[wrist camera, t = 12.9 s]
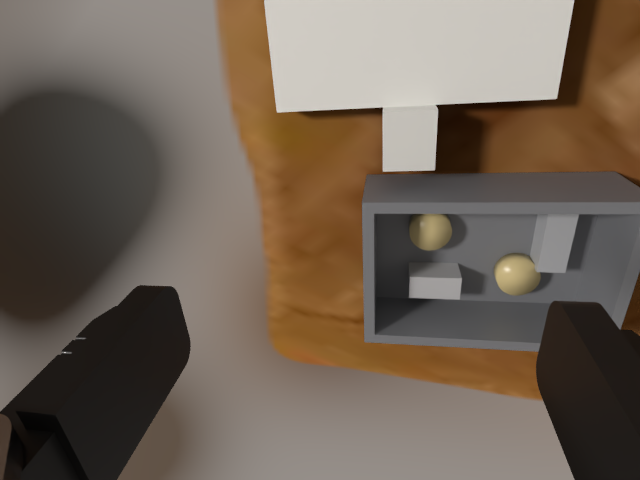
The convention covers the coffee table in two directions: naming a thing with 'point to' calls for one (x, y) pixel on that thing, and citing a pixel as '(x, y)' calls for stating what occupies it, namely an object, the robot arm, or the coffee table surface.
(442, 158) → the coffee table surface
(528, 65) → the lid
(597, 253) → the tub
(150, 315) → the robot arm
